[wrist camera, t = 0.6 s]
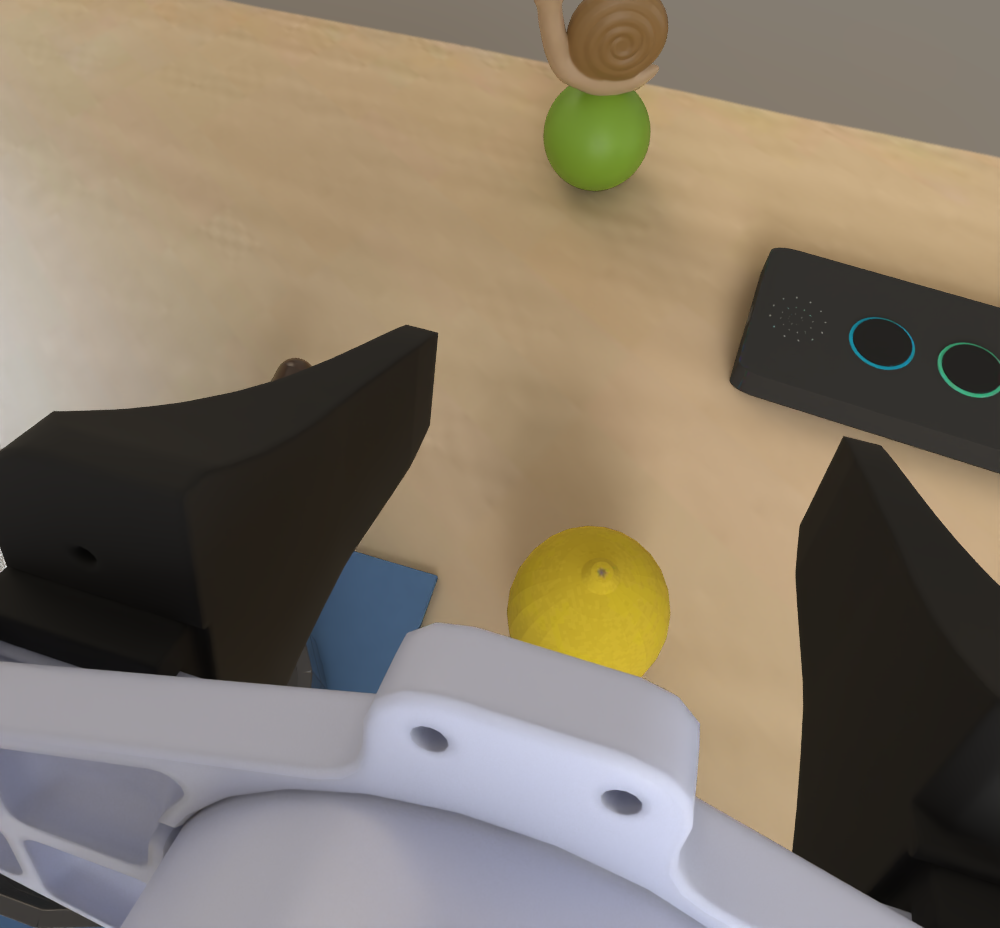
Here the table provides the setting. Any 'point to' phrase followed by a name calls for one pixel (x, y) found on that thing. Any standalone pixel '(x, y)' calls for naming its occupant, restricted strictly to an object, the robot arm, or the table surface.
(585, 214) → the table surface
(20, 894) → the pan
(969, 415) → the smart home device
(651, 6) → the snail figurine
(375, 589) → the napkin
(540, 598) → the lemon
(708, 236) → the table surface
